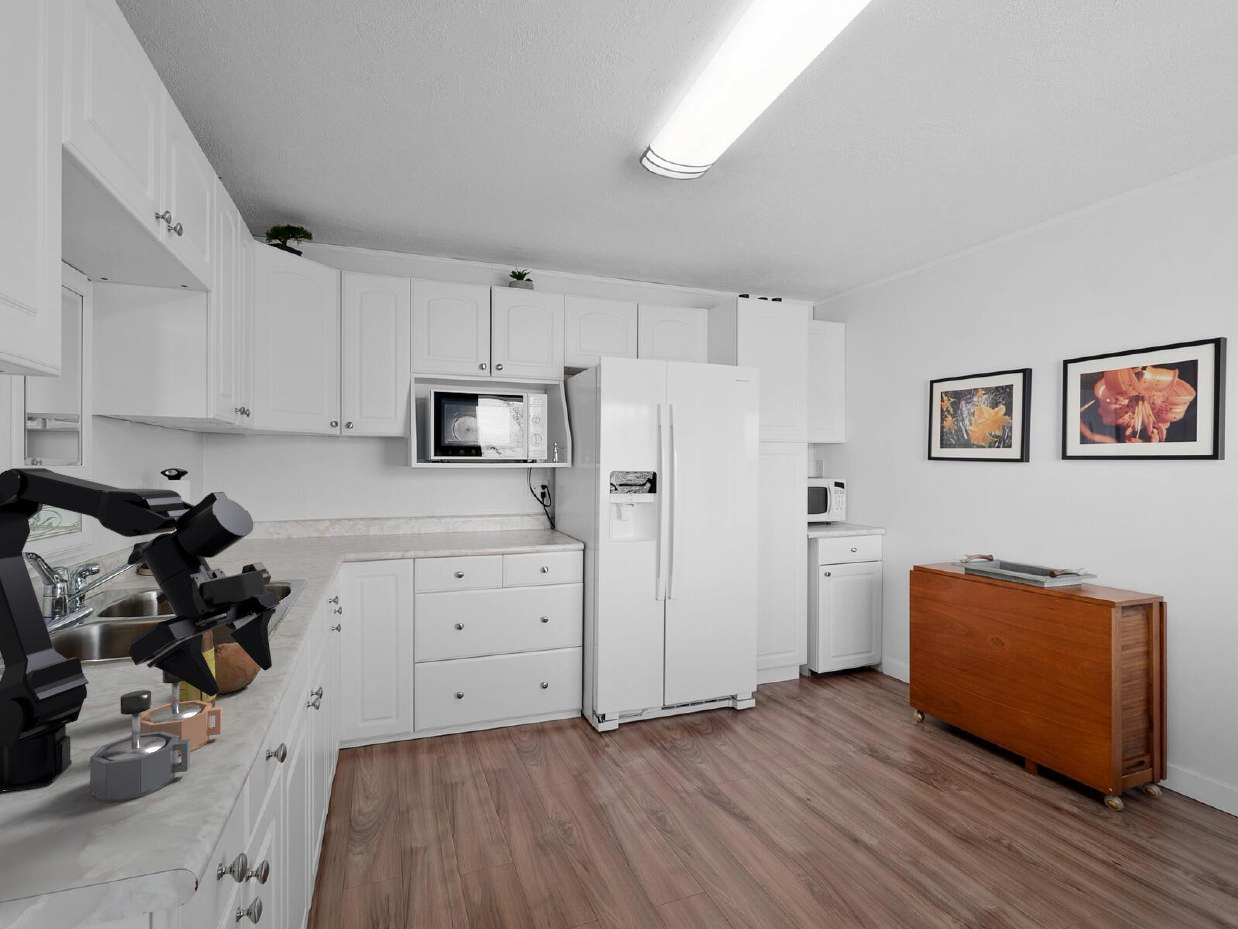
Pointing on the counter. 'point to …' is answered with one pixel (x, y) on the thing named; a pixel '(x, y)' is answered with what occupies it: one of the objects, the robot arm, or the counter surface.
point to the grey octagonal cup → (137, 769)
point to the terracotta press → (187, 724)
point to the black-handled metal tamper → (174, 704)
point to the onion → (233, 667)
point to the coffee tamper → (135, 729)
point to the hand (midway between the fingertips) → (243, 681)
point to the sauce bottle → (192, 693)
